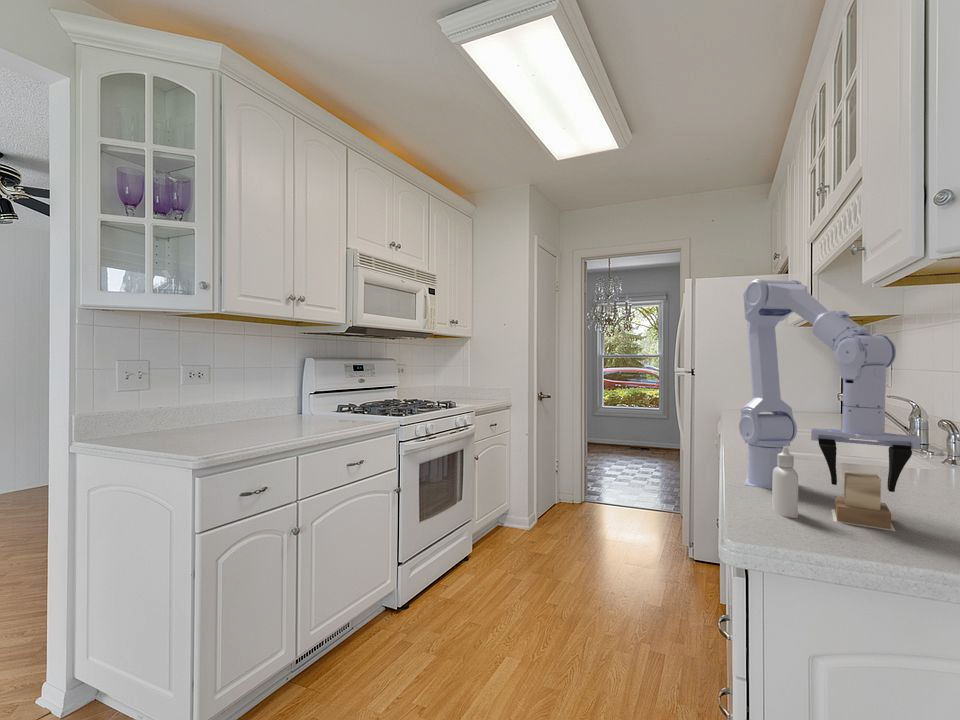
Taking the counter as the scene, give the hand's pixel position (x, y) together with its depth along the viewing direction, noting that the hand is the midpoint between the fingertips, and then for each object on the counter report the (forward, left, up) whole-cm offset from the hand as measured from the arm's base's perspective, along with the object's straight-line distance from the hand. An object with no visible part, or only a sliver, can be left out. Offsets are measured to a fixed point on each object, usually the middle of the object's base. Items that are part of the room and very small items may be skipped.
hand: (861, 487), depth 85 cm
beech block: (0, 0, -3) cm, 3 cm away
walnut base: (0, 0, -6) cm, 6 cm away
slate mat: (-2, -2, -6) cm, 7 cm away
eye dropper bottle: (+3, -11, -6) cm, 13 cm away
